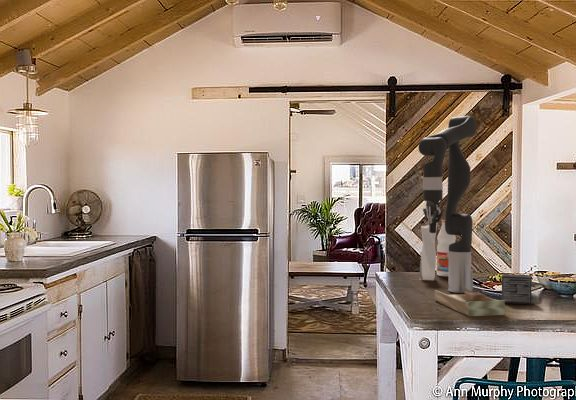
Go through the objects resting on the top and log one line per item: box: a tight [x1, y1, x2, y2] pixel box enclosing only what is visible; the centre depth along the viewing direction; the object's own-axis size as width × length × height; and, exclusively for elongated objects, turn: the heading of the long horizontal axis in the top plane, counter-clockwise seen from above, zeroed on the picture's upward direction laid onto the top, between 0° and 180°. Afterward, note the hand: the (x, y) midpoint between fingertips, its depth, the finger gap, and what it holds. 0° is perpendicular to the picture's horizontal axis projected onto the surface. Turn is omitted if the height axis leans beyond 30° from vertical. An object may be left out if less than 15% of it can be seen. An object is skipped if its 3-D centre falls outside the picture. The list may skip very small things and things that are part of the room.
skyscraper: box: [418, 222, 439, 281], centre depth 272 cm, size 8×8×28 cm
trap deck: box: [434, 289, 506, 317], centre depth 209 cm, size 13×28×5 cm, turn 10°
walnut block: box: [464, 291, 487, 302], centre depth 199 cm, size 5×5×5 cm
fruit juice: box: [436, 219, 457, 278], centre depth 284 cm, size 9×9×28 cm
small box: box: [501, 274, 533, 305], centre depth 218 cm, size 11×6×10 cm, turn 71°
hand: (432, 232), depth 221 cm, fingers closed
